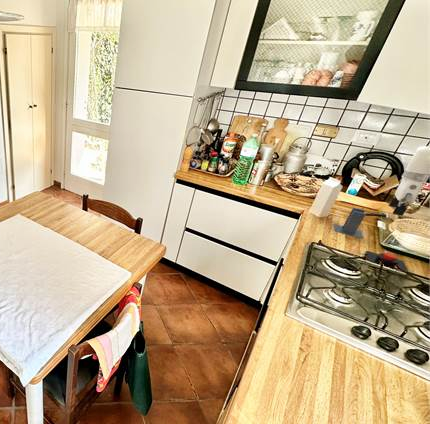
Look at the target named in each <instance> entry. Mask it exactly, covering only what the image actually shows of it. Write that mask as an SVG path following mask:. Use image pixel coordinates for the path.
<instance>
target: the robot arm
mask: <svg viewBox="0 0 430 424" xmlns="http://www.w3.org/2000/svg"><path fill="white" fill-rule="evenodd" d="M401 178H402V180H401V182H399V185H398V186H397V188H396V190H395V192H394V196H393V198H392V199H391V201H390V203H389V204H388V206H389V207H391V208H394V210H393V212H392V214H393V215H396V216H401V217H402V216H404V215H405V213H406V211H407V209H408V208H409V205H410V204H414V203H415V202H416V200H417V198H418V196H419V193H421V189H422V187H423V185H424V183H426V182H427V181H428V180H429V178H430V146H429V145H422V146H419V147H417V149H416V150H415V152H414V153H413V155H412V157H411V159H410V161H409V162H408V164H407V166H406V167H405V170H404V172H403V173H402V174H401Z"/></svg>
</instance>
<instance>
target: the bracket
mask: <svg viewBox="0 0 430 424" xmlns="http://www.w3.org/2000/svg"><path fill="white" fill-rule="evenodd" d="M358 211H362V212H358ZM366 213H367V212H366V210H365V209H361V208H357V207H352V209H351V210H350V212H349V215H348V216H347V218H346V219H345V221H344V223H343V225H342V224H341V225H340V224H336V223H333V231H334V232H335V233H339V234H342V235H346V236H351V237H354V238H358V239H362V240H363V239H364V234H363V231H362V230H360V229H359V227H360V225H361V223H362V222H363V221H364V218H365V217H366V216H365V215H366Z"/></svg>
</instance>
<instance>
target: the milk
mask: <svg viewBox="0 0 430 424" xmlns="http://www.w3.org/2000/svg"><path fill="white" fill-rule="evenodd" d="M341 182H342V181H341V180H340V179H337V178H334V177H332V176H330V177H329V178H328V179H327V180H325V181H323V182H322V183H321V185H320V188H319V190H318V192H317V194H316V196H315V199H314V200H313V202H312V203H311V204H312V205H311V206H310V209H309V211H308V212H309V213H310V214H312V215H313V216H316V217H317V218H324V217H329V214H330V213H331V211H332V209H333V207H334V205H335V203H336V201H337V199H338V197H339V195H340V193H341V191H342V189H343V185H342V184H341Z"/></svg>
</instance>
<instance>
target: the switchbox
mask: <svg viewBox="0 0 430 424" xmlns="http://www.w3.org/2000/svg"><path fill="white" fill-rule="evenodd" d="M384 253H385V252H379V253H377V252H373V251H369V250H366V251H365V253H364V254H363V256H364V258H365V257H366V258H367V260H368V261H370V262H373V263H378V262H379V260H381V259H382V260H383V264H384V266H386V267H390V268H393V266H394V265H395V264H397V265H398V267H399V268H400V269H402V270H403V271H405V272H408V273H409V271H408V268H407V266H406V263H405V260H402V259H399V258H397V257H396V258H395V260H394V261H391V260H387V259H385V258H384V257H383V255H384Z"/></svg>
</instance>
